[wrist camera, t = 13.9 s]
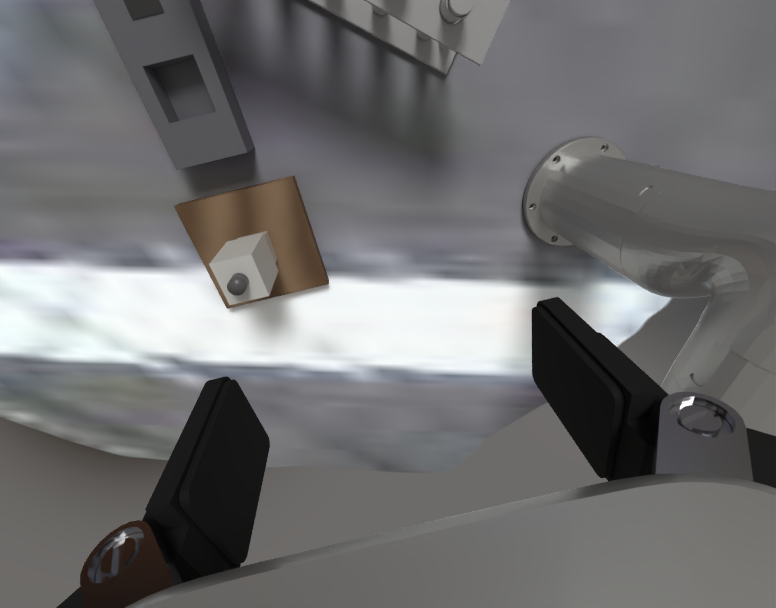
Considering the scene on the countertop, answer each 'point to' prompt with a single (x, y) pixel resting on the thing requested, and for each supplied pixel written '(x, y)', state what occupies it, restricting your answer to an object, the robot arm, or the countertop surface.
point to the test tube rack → (426, 26)
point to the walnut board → (259, 231)
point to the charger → (246, 268)
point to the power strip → (179, 77)
